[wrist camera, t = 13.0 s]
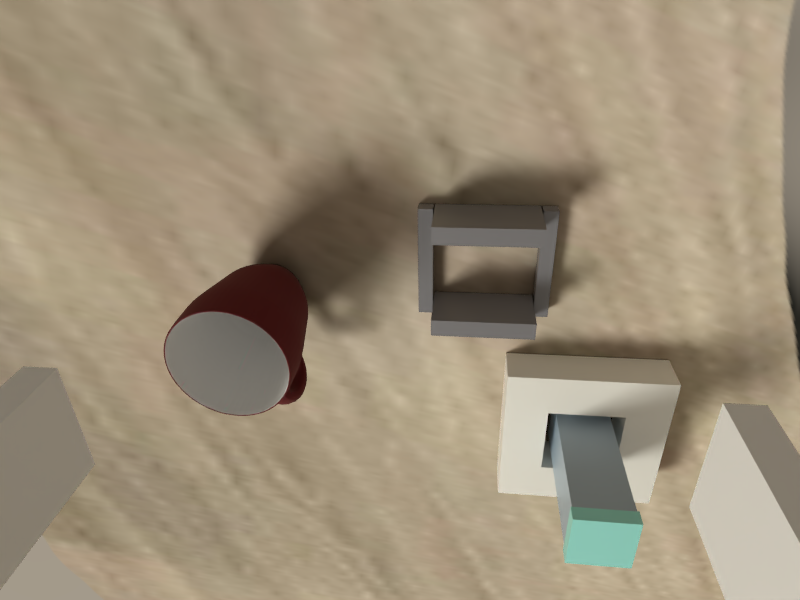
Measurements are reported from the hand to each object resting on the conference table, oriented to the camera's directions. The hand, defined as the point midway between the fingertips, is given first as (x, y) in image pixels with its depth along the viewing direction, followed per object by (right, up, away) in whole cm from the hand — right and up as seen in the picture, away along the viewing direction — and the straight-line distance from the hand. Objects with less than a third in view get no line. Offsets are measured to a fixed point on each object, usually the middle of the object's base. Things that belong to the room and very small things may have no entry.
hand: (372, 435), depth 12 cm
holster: (+7, +6, +29) cm, 31 cm away
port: (+15, -7, +35) cm, 39 cm away
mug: (-8, +3, +33) cm, 34 cm away
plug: (+15, -7, +35) cm, 39 cm away
